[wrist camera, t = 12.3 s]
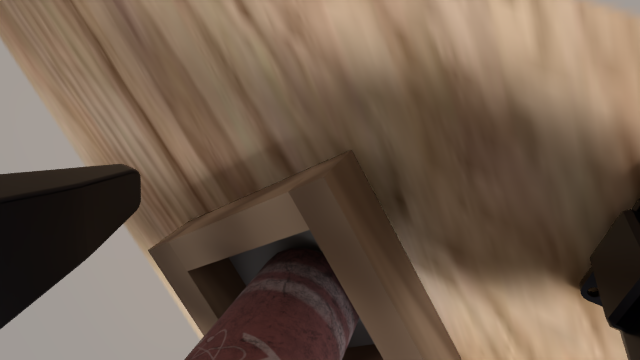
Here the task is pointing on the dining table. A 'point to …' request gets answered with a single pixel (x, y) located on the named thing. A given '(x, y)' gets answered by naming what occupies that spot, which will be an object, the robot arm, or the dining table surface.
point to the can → (284, 314)
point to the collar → (320, 234)
